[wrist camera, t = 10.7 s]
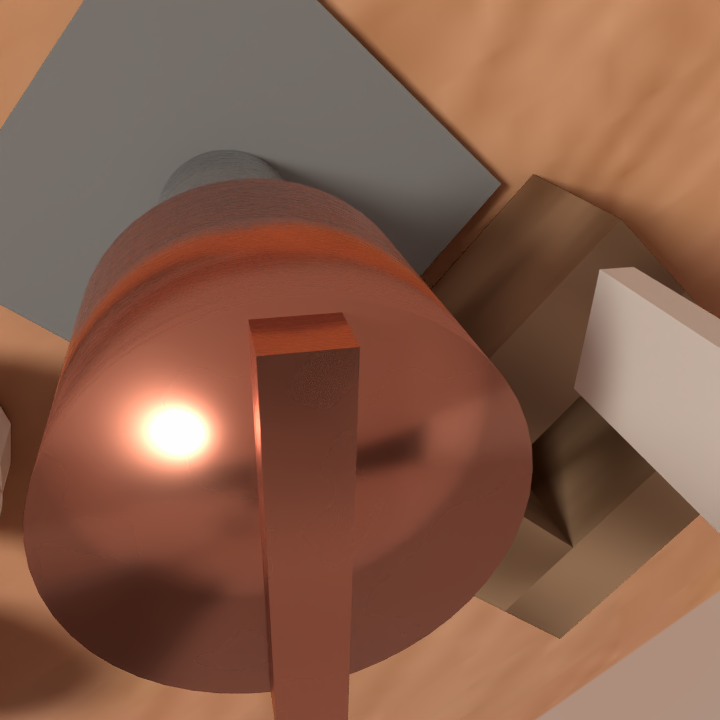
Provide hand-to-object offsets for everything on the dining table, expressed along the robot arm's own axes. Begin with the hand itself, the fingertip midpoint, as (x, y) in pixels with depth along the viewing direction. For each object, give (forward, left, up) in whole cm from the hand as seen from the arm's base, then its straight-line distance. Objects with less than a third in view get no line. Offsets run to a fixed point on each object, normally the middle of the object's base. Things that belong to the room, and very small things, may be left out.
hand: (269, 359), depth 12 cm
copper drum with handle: (0, 0, -9) cm, 9 cm away
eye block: (+1, -13, -9) cm, 16 cm away
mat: (0, 0, -9) cm, 9 cm away
